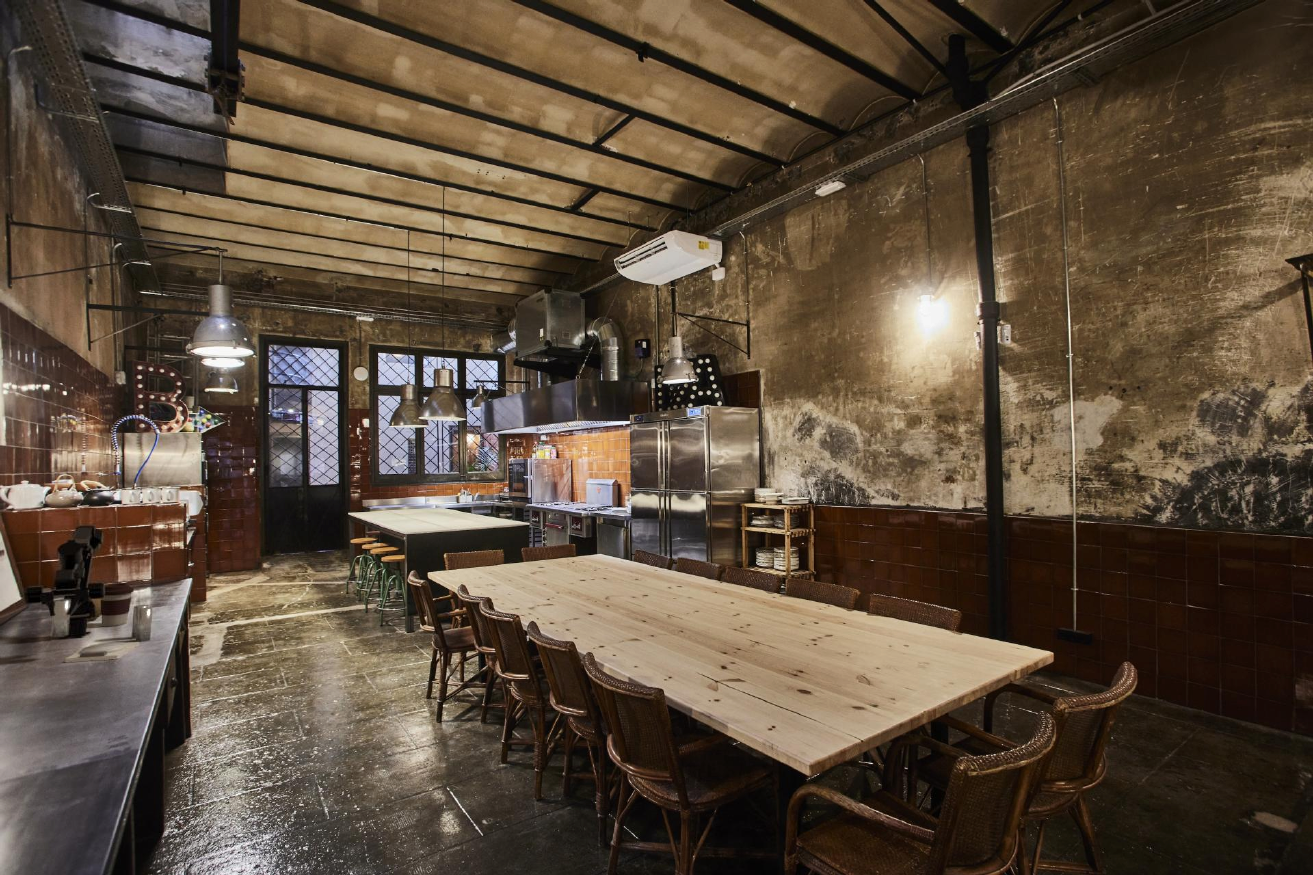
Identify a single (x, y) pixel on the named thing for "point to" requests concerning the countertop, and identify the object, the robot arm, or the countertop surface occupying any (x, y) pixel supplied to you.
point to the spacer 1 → (61, 617)
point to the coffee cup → (116, 604)
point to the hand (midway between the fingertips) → (60, 614)
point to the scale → (102, 651)
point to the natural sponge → (96, 609)
